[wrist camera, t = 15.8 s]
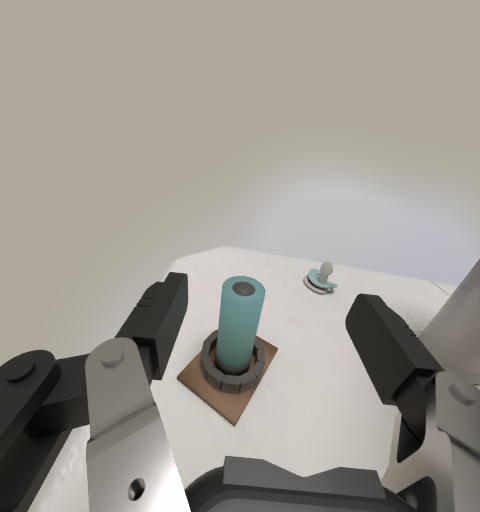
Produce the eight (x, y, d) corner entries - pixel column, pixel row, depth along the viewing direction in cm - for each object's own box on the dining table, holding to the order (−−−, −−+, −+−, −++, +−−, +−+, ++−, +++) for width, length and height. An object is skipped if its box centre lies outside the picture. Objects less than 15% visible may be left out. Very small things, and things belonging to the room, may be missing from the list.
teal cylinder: (227, 340, 33) (237, 270, 26) (256, 358, 31) (273, 286, 24) (207, 365, 29) (211, 290, 23) (237, 387, 27) (252, 311, 20)
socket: (229, 323, 37) (231, 311, 35) (277, 350, 33) (280, 339, 32) (177, 378, 27) (176, 366, 26) (234, 426, 24) (237, 414, 22)
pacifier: (317, 298, 46) (338, 293, 48) (326, 275, 43) (347, 270, 45) (297, 279, 52) (316, 275, 54) (303, 257, 48) (323, 253, 51)
